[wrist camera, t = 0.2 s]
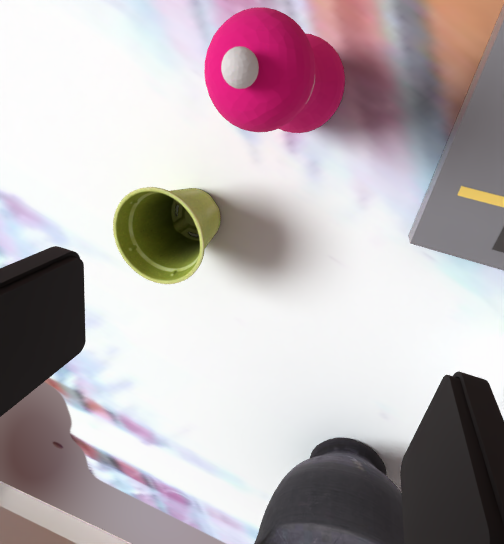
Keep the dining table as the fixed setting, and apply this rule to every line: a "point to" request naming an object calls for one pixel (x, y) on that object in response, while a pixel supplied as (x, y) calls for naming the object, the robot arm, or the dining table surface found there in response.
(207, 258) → the dining table surface
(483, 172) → the console
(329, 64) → the pepper mill
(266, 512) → the pitcher
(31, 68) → the dining table surface
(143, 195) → the plant pot
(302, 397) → the dining table surface
